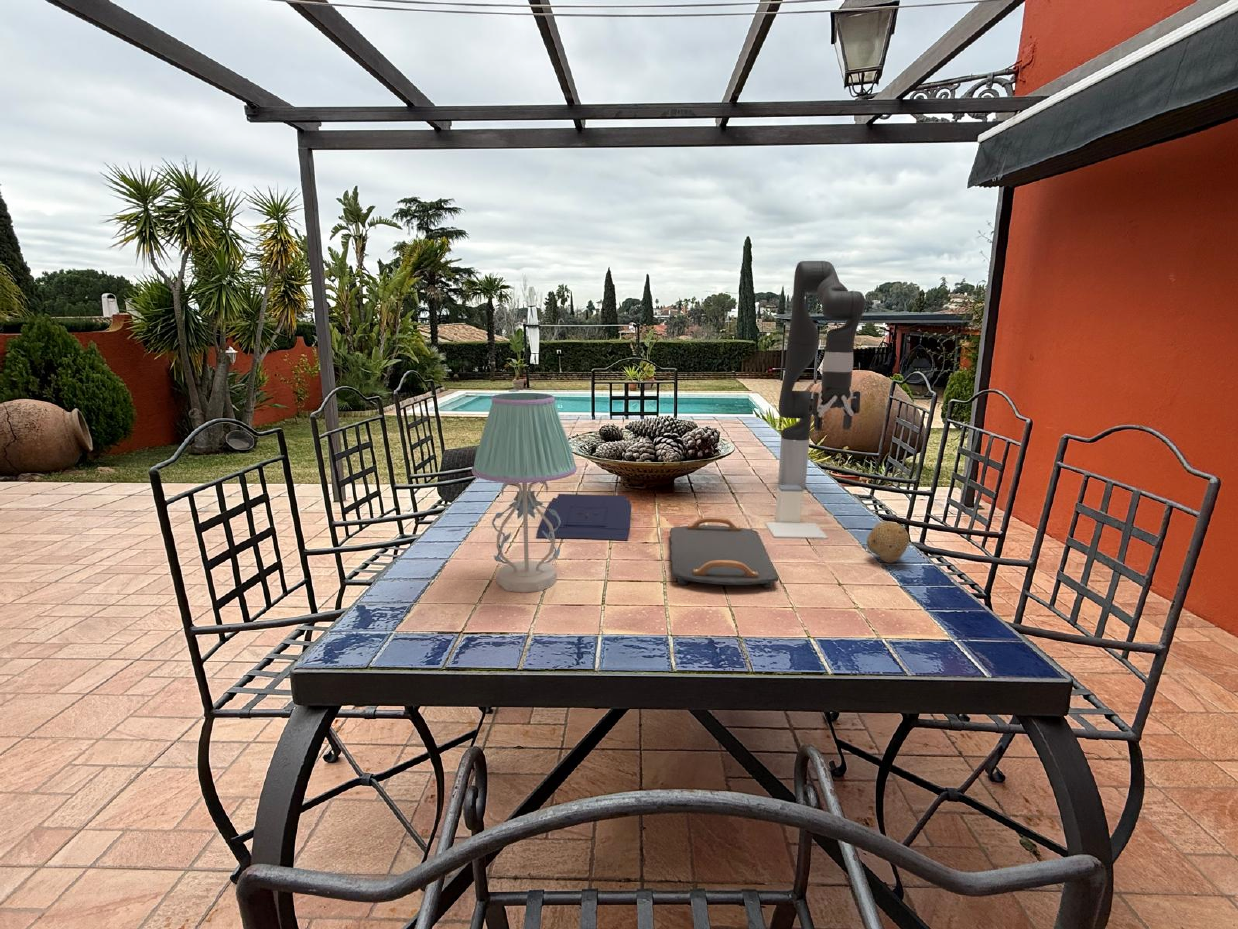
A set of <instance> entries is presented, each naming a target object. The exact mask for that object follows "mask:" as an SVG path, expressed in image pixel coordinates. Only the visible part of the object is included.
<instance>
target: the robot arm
mask: <svg viewBox="0 0 1238 929" xmlns="http://www.w3.org/2000/svg"><path fill="white" fill-rule="evenodd" d="M836 271H837V270H836V269H835V267H834V265H833V264H832V263H831V262H830V261H826V260H802V261H801V260H800V261H799V262H798V263H797V265H796V267H795V270H794V277H793V288H792V290H793V291H792V292H793V294H792V305H791V306H792V307H791V308H792V309H791V315H790V324H789V330H788V338H787V345H786V354H785V363H784V364H785V367H784V373H783V378H782V385H781V389H780V394H779V399H778V415H779V416H780V418H784V419H799V420H798V421H797V423H795V424H793V425H790V426H787V427H784V428H783V429H782V430H781V433H780V434H781V436H780V451H779V462H778V464H779V466H778V478H777V479H778V480H777V486H778V485H799V486H800V487H801V488H802V489H803V491H804V490H806V485H807V475H808V474H807V473H808V461H809V460H808V459H809V446H810V435H811V424H812V417H814V418H813V428H814V430H815V431H818V432H821V431H822V430H823V429H822V428H823V419H824V418H823V415H824V414H825V412H827V411H828V410H829V409H835V408H838V409H840V410H842V412H843V413H844V414H843V420H842V429H843V430H850V428H851V427H852V422H853V416H854V415H856V414H859V413H860V411H861V410H860V409H861V408H860V406H861V392H860V391H859V390H850V388H851V387H852V380H853V379H852V378H853V369H854V347H855V338H856V333H857V331H858V327H859V324H860V322H861V318H862V316H863V314H864V311H865V308H866V298H865V296H864V294H863V293H862V292H861V291H857V290H853V291H851V290H850V291H849V290H848V289H847V287H846V286H845V285H844V284H843V283H842V282H841V281H840V280H839V277H838V273H837V272H836ZM806 294H817V298H818V301H819V302H820V303H821V312H822V315H823V317H825V318H827V319H829V320H846V322H845V323H844V325H843V326H840V327H837V328H832V329H830V330H829V329H828V330H827V332H826V335H825V336H826V337H825V349H824V356H823V361H822V371H821V372H822V373H821V381H820V382H821V384H820V385H821V390H820V392H817V391H810V390H794V387H795V384H796V383H797V381H798V379H799V378H800V376H801V375H802V374H803V372H804V371H805V370H806V369H807V368H808V367H809V366H810V364H811V363H812V362H813V361H814V359H815V357H816V355H817V351H818V344H819V332H818V329H817V326H816V325H815V323H814V320H813V319H812V317H811V315H810V313H809V310H808V307H807V305H806ZM820 399H821V401H820ZM849 399H850V403H849V401H848V400H849ZM819 401H820V402H819Z"/></svg>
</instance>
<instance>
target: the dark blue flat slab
mask: <svg viewBox="0 0 1238 929" xmlns="http://www.w3.org/2000/svg"><path fill="white" fill-rule="evenodd" d="M546 508H548V509H553V510H555V511H556V512H557V514H558V516H559V517H560V521H561V523H560V525H559V527H558V528H557V530H556V531H554V536H555V539H556V538H559V539H596V540H597V539H598V540H611V541H612V540H615V541H628V540H629V537H630V536H629V535H630V531H631V529H630V528H631V518H632V504H631V500H630V499H627V495H621V494H619V495H616V494H615V495H614V494H613V495H611V494H609V495H608V494H578V493H577V494H573V493H558V494H557V497H552V499H551V501H549V502H548V504H547V507H546ZM543 514H544V516H545V517H546V518H547V519H548V520H549V522H550V523H551V524H552V526H553V530H554V529H555V528H556V527H557V525H558V523H559V521H558V518H557V517H556V516H554V515H552V514H551V513H550V511H549V510H547V509H545V511H544V513H543ZM541 518H542V517H541ZM542 530H543V531H544V532H545V533H547V534H548V535H549V532H550V529H549V526H548V524H547V523H546V522H545V520H544V519H543V518H542V519H541V520H540V524H539V525H538V529H537V533H536V537H535V538H540V539H543V538H544V539H547V538H546V537H545V535H544V534H543V532H542ZM550 537H551V533H550Z"/></svg>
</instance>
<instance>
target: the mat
mask: <svg viewBox="0 0 1238 929" xmlns="http://www.w3.org/2000/svg"><path fill="white" fill-rule="evenodd" d="M764 525H766V528H768V530H769V532H770V533H771V536H772V537H773V538H774V537H775V539H777V538H778V539H779V538H780V539H781V538H783V539H819V540H820V539H823V540H826V539H828V538H829V537H828V536H827V535H826V534H825V532H824V531H823V530H822V529H821V528H820V527H819V526H818V525H817V523H815V522H801V523H780V522H778V521H776V522H772V521H771V522H769V521H765V522H764Z"/></svg>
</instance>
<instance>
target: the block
mask: <svg viewBox="0 0 1238 929" xmlns="http://www.w3.org/2000/svg"><path fill="white" fill-rule="evenodd" d="M776 489H777V490H776V504H775V517H774V518H775V519H776V522H780V523H802V521H801V520H802V510H803V509H802V508H803V495H804V490H803V489H802V488H801V487H800V486H799V485H778V484H777V488H776Z"/></svg>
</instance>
